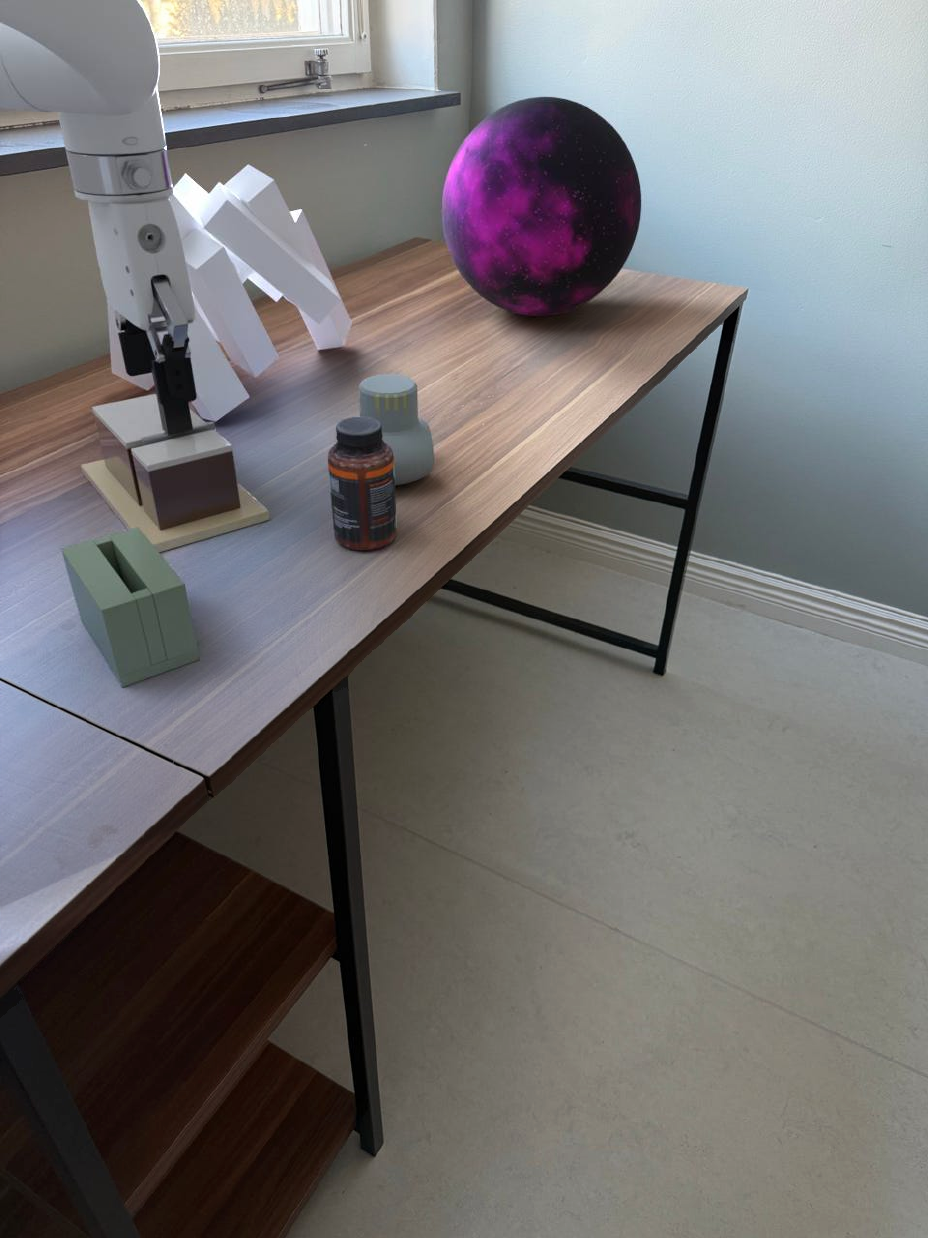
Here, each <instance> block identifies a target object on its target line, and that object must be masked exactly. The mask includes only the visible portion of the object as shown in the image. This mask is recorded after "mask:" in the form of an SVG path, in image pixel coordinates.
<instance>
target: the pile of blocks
mask: <svg viewBox="0 0 928 1238" xmlns="http://www.w3.org/2000/svg"><path fill="white" fill-rule="evenodd" d="M173 191H174V193H173V194H172V195H171V196H169V197H168V198H169V199H170V202H171V205H172V208H173V212H174V215H175V219H176V222H177V226H178V230H179V234H180V238H181V242H182V247H183V251H184V256H185V261H186V265H187V270H188V275H189V280H190V285H191V290H192V296H193V301H194V306H195V312H196V318H195V320H194V322H193V323H190V324H188V332H187V335H188V337H189V342H188V345H189V348H190V351H191V363H192V370H193V376H194V382H195V388H196V394H197V398H196V400H194V401H191V402H190V403H191V404H192V405H193V407H194V408H195V410H196V411H197V413H198V415H199V417H200V418H201V419H203V420H208V421H210V422H214V423H216V422H217V421H218V420H220V419H222V417H224V416H225V415H227V414H228V413H230V412H231V411H232V410H234V409H235V408H237V407H238V406H239V405H241V404H242V403H244V402H245V401H246V400H248V399H249V398H250V395H249V393H248V391H247V390H246V388H245V386H244V385H243V383H242V382H241V380H240V378H239V376H238V375H237V374H236V372H235V370H234V368H233V366H232V365H231V363H230V362H229V360H230V361H231V362H232V363H234V364H235V365H237V366H238V367H240V368H241V369H243V370H244V371H245V372H246V373H249V374H250V375H251V376H252V377H254V378H258V377H259V376H260V375H261V374H262V373H264V371H265V370H267V369H268V368H269V367H270V366H271V365H272V364H274V363H275V362H276V361H277V360H278V359H279V358H280V356H279V355H278V353H277V351H276V348H275V347H274V344H273V343H272V340H271V338H270V336H269V334H268V332H267V330H266V328H265V326H264V324H263V322H262V320H261V318H260V316H259V314H258V312H257V310H256V308H255V306H254V304H253V302H252V300H251V298H250V296H249V294H248V292H247V290H246V288H245V286H244V284H245V282H246V281H247V280H249V281H251V282H252V283H253V284H254V285H255V286H257V287H258V288H259V289H260V290H261V291H262V292H263V293H265V294H266V295H267V296H268V297H270V298H271V299H272V300H273V301H275V302H276V303H278V302H279V300H280V299H282V298H284V299H285V300H286V301H288V302H290V303H291V304H292V305H294V306H295V307H296V308H297V310H298V312H299V314H300V316H301V318H302V320H303V322H304V324H305V327H306V328H307V330H308V332H309V334H310V337H311V338H312V340H313V343H314V344H315V346H316V349H317V351H320V350H328V349H334V348H341V347H345V344H346V342H347V339H348V337H349V334H350V331H351V329H352V325H353V322H352V319H351V317H350V315H349V312H348V310H347V308H346V306H345V304H344V301H343V299H342V296H341V295H340V293H339V290H338V288H337V285H336V283H335V281H334V279H333V276H332V274H331V271H330V270H329V267H328V265H327V263H326V260H325V259H324V255H323V254H322V251H321V250H320V247H319V245H318V241H317V240H316V237H315V235H314V233H313V231H312V229H311V227H310V225H309V222H308V220H307V217H306V215H305V213H304V211H303V209H296V210H291V211H290V209H289V207H288V205H287V203H286V201H285V199H284V197H283V194H282V193H281V191H280V189H279V187H278V185H277V183H276V181H275V179H274V178H272V177H270V176H268V175H267V174H266V173H264V172H262V171H261V170H259V169H257V168H255V167H253V166H252V165H250V164H247V165H245V166H244V167H243V168H242V169H241V170H239V172H237V173H236V174H235V175H234V176H233V177H231V178H230V179H229V180H228V181H227V182H226V183H224V184H223V183H221V182H220V181H218V183H216V185H215V186H214V187H213V188H212V189H211V191H210V192H209V193H208V191H207V190H205V189H204V188H202V186H200V185H199V184H198V183H197V182H196V181H194V180H193V178H191V177H190V176H189V175H188V174H187V173H184V174H183V176H182V177H181V178H180V179H179V180H178V182H177V183H176V184H174V186H173ZM106 305H107V307H106V308H107V320H108V335H109V337H108V338H109V352H110V368H111V369H110V370H111V374H113V375H114V376H117V377H119V378H121V379H123V380H125V381H127V382H128V383H131V384H133V385H135V386H137V387H139V388H141V389H143V390H145V391H147V392H149V391H150V389H152V388H153V387H155V386H154V380H153V375H152V373H148V374H143V375H138V376H129V375H128V374H127V373H126V369H125V365H124V360H123V355H122V350H121V345H120V340H119V336H118V333H120V332H125V331H119V330H118V328H117V326H116V321H115V309H114V308H113V307H112V306H111V305H110V303H109V302H108V300H107V299H106ZM164 320H165V318H164V316H163V317H157V318H151V322H158V321H164ZM157 334H158V337H159V339H160V342H161V345H162V341H163V337H164V335H165V334H168V331H164V332H159V333H157ZM219 343H220V344H221V346H222V347H223V349H224V352H225V353H226V354H227V356H228V358H229V360H228V359H227V357H226V355H225V353H224V352H223V350H222V349H221V347H220V345H219Z"/></svg>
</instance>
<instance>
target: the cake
mask: <svg viewBox="0 0 928 1238" xmlns="http://www.w3.org/2000/svg"><path fill="white" fill-rule="evenodd" d="M91 410H92V415H93V419H94V423H95V427H96V432H97V436H98V440H99V443H100V448H101V452H102V456H103V459H100V460H95V461H92V462H87V463H82V464H80V467H81V472H82V474H83V475H84V477H85V478H86V479H87V480H88V482H89V483H90V484H91V485H92V487H93V488H94V489H95V491H96V492H97V493H98V495H100V496H101V498H102V499H103V500H104V502H105V503H106V504H107V505H108V507H109V508H110V509H111V511H112V512H113V513H114V514H115V515H116V516H117V518H118V519H119V520H120V522H122V524H123V525H124V526H125V528H126V530H129V529H132V528H136V527H138V528H139V529H140V530H141V531H142V532H143V534H144V535H145V536H146V537H147V538H148V540H149V541H150V542H151V543H152V545H153V546H154V547H155V548H156V549H157V551H158V552H159V553H162V552H165V551H168V550H172V549H176V548H179V547H182V546H185V545H189V544H192V543H196V542H199V541H202V540H206V539H209V538H213V537H216V536H219V535H222V534H226V533H230V532H233V531H237V530H240V529H243V528H247V527H250V526H253V525H257V524H260V523H263V522H266V521H270V520H271V517H270V510H268V509H267V508H266V507H265V506H264V505H263V504H262V503H261V502H260V501H259V500H257V499H256V498H255V496H254V495H252V494H251V493H250V492H249V491H247V490H246V488H245V487H243V486H242V485H241V484H240V483H239V482H238V479H237V472H236V465H235V458H234V452H233V451H234V450H233V449H234V448H233V444H231V443H230V442H229V441H228V440H227V439H226V438H224V437H223V436H222V435H221V434H220V433H219V432H218V431H216V429H215V430H214V429H213V430H209V431H204V432H200V433H196V434H192V435H187V436H183V437H179V438H175V439H170V440H166V441H162V442H157V443H153V444H149V445H145V446H142V441H141V438H143V437H147V436H151V435H156V434H160V433H164V432H165V431H164V430H163V428H162V422H161V417H160V412H159V407H158V401H157V396H156V393H153V394H147V395H144V396H139V397H134V398H129V399H124V400H118V401H114V402H109V403H105V404H104V403H103V404H99V405H95V406H91ZM190 414H191V420H192V426H195V425H199V424H204V423H207V422H206V421H204V419H203V418H202V417H201V416H200V415H199V414H197V413H196V412H194V411H193V410H192V409H191V408H190Z"/></svg>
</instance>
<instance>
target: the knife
mask: <svg viewBox="0 0 928 1238" xmlns="http://www.w3.org/2000/svg"><path fill="white" fill-rule="evenodd" d="M151 370H152V375H153V380H154V386H153V387H154V390H155V394H156V396H157V401H158V407H159V412H160V417H161V422H162V428H163V430H164V431H165V432H164V433H160V434H156V435H151V436H147V437H143V438H141V441H142V446H145V445H149V444H153V443H157V442H162V441H166V440H170V439H175V438H179V437H183V436H187V435H192V434H196V433H200V432H204V431H209V430H213V429H214V430H215V431H216V427H215V421H209V422H206V423H204V424H199V425H195V426H192V420H191V414H190V409H191V408H190V402H186V403H181V404H177V405H172V406H167V407H164V406H162V405H161V404H160V402H159V398H158V393H157V387H156V382H155V377H154V371H153V368H151Z"/></svg>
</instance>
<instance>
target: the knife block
mask: <svg viewBox="0 0 928 1238" xmlns="http://www.w3.org/2000/svg"><path fill="white" fill-rule="evenodd" d="M60 551H61V555H62V558H63V562H64V565H65V569H66V572H67V576H68V579H69V583H70V586H71V590H72V593H73V597H74V600H75V604H76V607H77V610H78V613H79V614H78V615H79V617H80V621H81V623H82V625H83V627H84V628H85V630H86V631H87V633H88V634H89V636H90V638H91V639H92V642H93V643H94V644H95V646H96V648H97V649H98V651H99V653H100V655H101V656H102V657H103V659H104V660H105V662H106V664H107V666H108V667H109V669H110V671H111V672H112V674H113V675H114V677H115V678H116V681H117V682H118V683H119V684H120V687H122V688H125V687H128V686H130V685H133V684H136V683H139V682H141V681H144V680H146V679H147V680H148V679H149V678H152V677H156V676H158V675H160V674H164V673H166V672H168V671H171V670H174V669H178V668H180V667H183V666H186V665H189V664H192V663H193V662H196V661H200V653H199V649H198V643H197V638H196V633H195V629H194V623H193V617H192V613H191V608H190V603H189V597H188V592H187V588H186V583H185V582H184V581H183V580H182V579H181V577H180V576H179V575H178V573H176V571H175V570H174V569H173V567H171V565H170V564H169V563H168V561H167V560H166V559H165V557H163V555H162V554H161V552H158V551H157V549H156V548H155V547H154V546H153V545H152V543H151V542H150V541H149V540H148V538H147V537H146V536H145V535H144V534H143V532H142V531H141V530H140V529H139V528H138V527H136V528H132V529H129V530H128V529H126V530H125V529H124V530H121V531H118V532H115V533H111V534H108V535H103V536H99V537H97V538H93V539H89V540H85V541H82V542H78V543H75V544H70V545H68V546H64V547H61V548H60Z"/></svg>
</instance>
